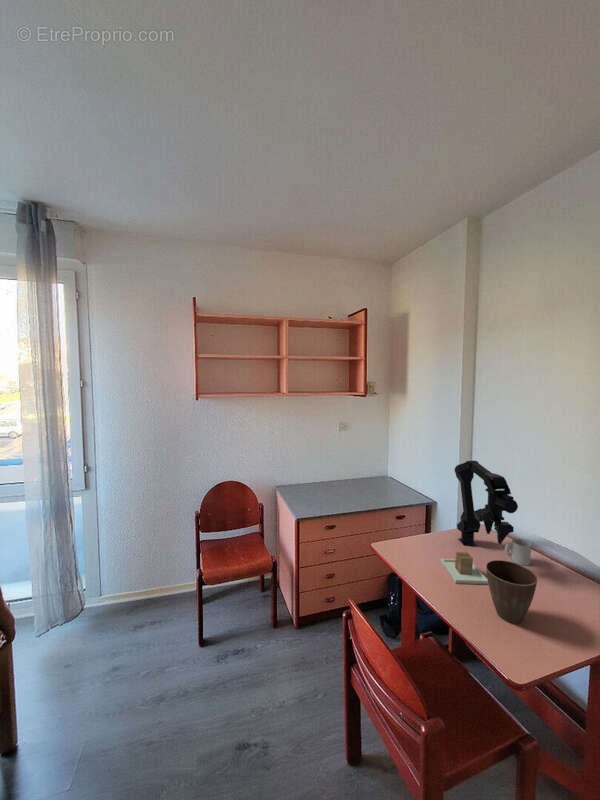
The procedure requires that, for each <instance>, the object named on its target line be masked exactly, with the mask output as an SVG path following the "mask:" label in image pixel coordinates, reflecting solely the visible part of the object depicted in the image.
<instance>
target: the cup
mask: <svg viewBox="0 0 600 800" xmlns="http://www.w3.org/2000/svg"><path fill="white" fill-rule="evenodd" d="M510 547H511V553H510ZM531 552H532V543H530V542H529V541H527V540H525V539H522V538H512V539H511V542H508V543H506V544H505V545H504V553H505V555H506V556H507V557H509V558H510V559H511V560H512V562H513V563H516V564H519V565H521V566H530V564H531Z"/></svg>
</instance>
